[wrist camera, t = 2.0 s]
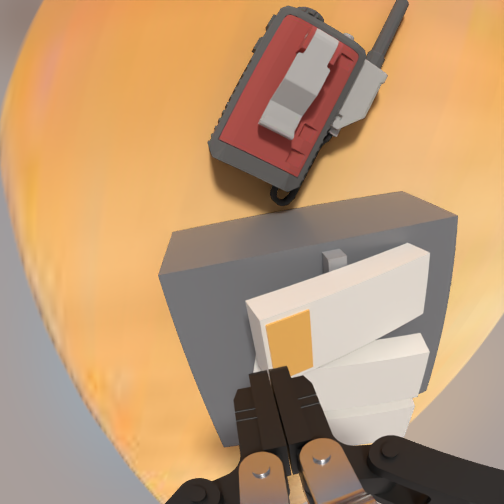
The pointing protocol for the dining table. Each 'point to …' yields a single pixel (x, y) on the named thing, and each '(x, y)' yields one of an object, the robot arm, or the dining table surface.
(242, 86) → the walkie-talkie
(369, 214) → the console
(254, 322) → the white rectangular block
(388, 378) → the rocker
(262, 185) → the dining table surface
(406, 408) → the rocker
